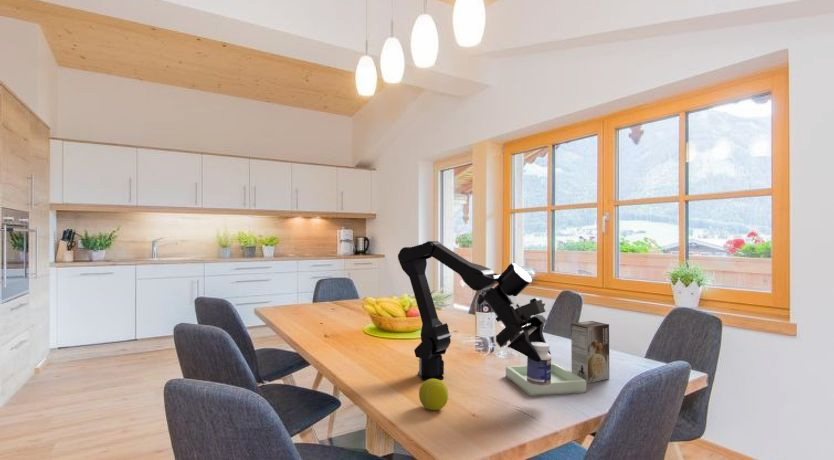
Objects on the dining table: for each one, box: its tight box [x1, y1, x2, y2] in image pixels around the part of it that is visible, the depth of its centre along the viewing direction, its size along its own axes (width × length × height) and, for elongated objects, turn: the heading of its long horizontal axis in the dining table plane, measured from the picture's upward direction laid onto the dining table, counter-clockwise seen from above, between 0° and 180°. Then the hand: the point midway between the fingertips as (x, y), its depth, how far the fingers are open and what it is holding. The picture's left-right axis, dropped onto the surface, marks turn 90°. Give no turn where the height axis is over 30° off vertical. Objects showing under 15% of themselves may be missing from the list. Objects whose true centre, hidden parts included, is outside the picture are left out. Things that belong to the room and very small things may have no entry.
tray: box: [505, 362, 587, 397], centre depth 121 cm, size 16×16×3 cm
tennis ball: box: [418, 379, 449, 411], centre depth 103 cm, size 7×7×7 cm
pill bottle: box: [526, 342, 552, 388], centre depth 106 cm, size 6×6×10 cm
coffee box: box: [570, 320, 610, 384], centre depth 127 cm, size 9×6×16 cm
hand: (544, 358), depth 105 cm, fingers closed on pill bottle, 6 cm apart
